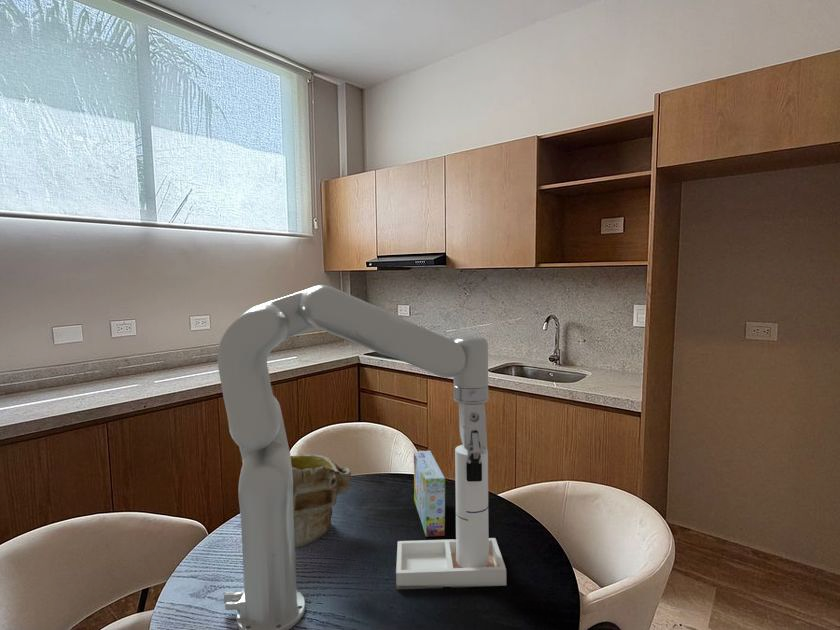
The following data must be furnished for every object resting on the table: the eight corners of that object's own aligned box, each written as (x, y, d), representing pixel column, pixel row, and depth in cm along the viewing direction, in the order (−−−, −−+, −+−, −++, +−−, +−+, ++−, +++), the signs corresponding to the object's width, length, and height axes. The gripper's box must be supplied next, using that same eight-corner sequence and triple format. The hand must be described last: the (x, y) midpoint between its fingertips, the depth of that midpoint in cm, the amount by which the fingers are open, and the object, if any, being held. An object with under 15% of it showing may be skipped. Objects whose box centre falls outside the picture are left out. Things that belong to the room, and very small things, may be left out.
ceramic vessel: (330, 468, 137) (344, 418, 122) (349, 548, 121) (368, 501, 106) (251, 482, 127) (256, 429, 112) (261, 571, 111) (268, 523, 96)
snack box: (447, 536, 114) (446, 477, 113) (425, 538, 113) (424, 479, 112) (431, 498, 135) (430, 449, 134) (412, 500, 134) (411, 450, 133)
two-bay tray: (396, 589, 94) (396, 573, 93) (398, 555, 106) (397, 541, 105) (506, 585, 94) (506, 569, 94) (495, 552, 106) (495, 537, 106)
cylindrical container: (487, 571, 96) (487, 456, 94) (454, 568, 97) (453, 454, 96) (489, 552, 103) (488, 444, 101) (458, 549, 104) (457, 443, 103)
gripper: (495, 402, 89) (496, 490, 90) (481, 384, 107) (482, 458, 108) (458, 403, 89) (459, 491, 90) (450, 385, 106) (450, 459, 107)
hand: (471, 472), depth 99 cm, fingers closed on cylindrical container, 7 cm apart
